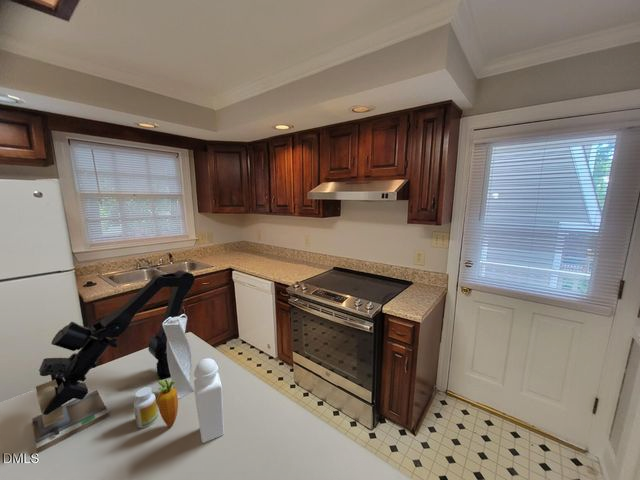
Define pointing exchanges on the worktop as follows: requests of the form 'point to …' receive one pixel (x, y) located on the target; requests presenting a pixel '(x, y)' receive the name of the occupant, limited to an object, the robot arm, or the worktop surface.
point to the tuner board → (73, 420)
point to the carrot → (168, 402)
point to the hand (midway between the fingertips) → (44, 409)
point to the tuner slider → (57, 416)
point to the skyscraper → (178, 354)
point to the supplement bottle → (145, 407)
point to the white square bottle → (209, 399)
